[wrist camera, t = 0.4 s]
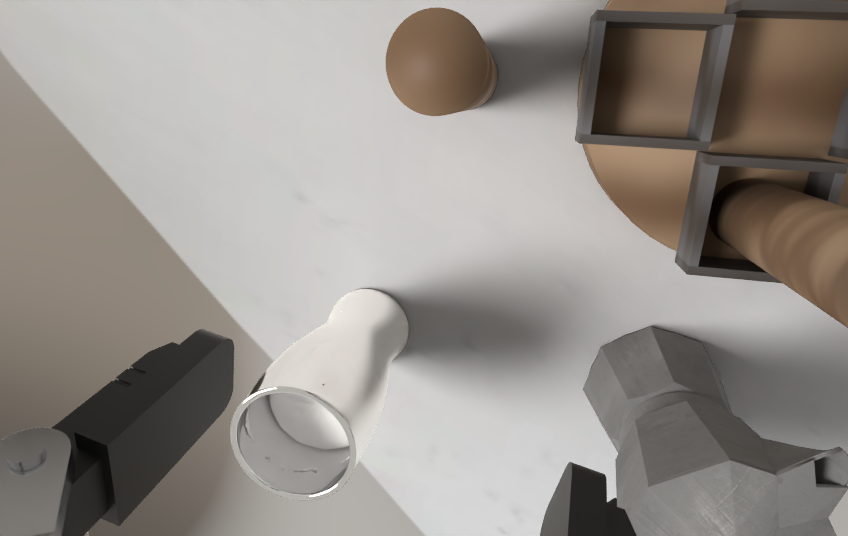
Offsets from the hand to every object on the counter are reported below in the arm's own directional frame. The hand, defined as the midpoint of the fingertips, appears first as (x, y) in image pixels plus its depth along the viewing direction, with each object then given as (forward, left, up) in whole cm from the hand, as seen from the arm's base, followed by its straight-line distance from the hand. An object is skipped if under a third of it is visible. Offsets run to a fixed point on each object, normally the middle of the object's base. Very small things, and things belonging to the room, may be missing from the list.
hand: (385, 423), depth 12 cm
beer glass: (+10, -7, -26) cm, 29 cm away
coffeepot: (+13, +13, -26) cm, 32 cm away
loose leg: (-8, -1, -26) cm, 28 cm away
